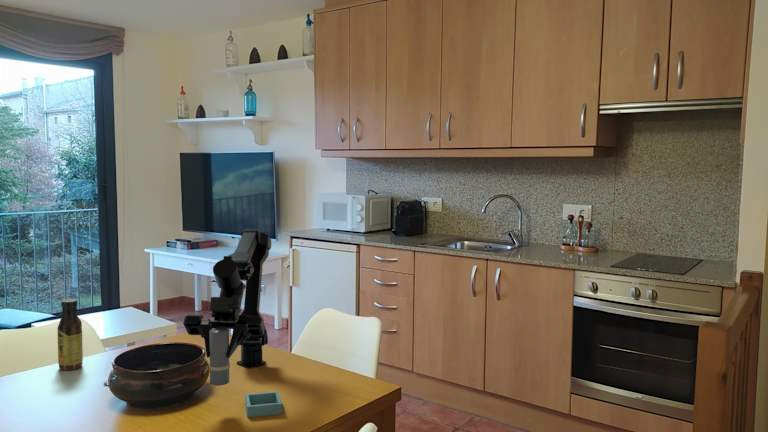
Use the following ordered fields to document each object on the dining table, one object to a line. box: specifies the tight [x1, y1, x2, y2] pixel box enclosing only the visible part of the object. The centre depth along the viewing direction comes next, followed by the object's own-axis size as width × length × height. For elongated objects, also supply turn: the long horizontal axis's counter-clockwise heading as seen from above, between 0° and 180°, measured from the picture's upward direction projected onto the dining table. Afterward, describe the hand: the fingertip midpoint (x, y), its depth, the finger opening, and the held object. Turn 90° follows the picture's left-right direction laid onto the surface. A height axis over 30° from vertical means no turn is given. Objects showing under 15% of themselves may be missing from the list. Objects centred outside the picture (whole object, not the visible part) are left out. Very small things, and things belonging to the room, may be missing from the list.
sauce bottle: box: [56, 298, 84, 371], centre depth 166 cm, size 6×6×20 cm
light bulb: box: [208, 328, 231, 386], centre depth 138 cm, size 5×5×12 cm
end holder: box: [244, 390, 283, 418], centre depth 140 cm, size 8×8×2 cm
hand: (217, 357), depth 136 cm, fingers closed on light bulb, 4 cm apart
